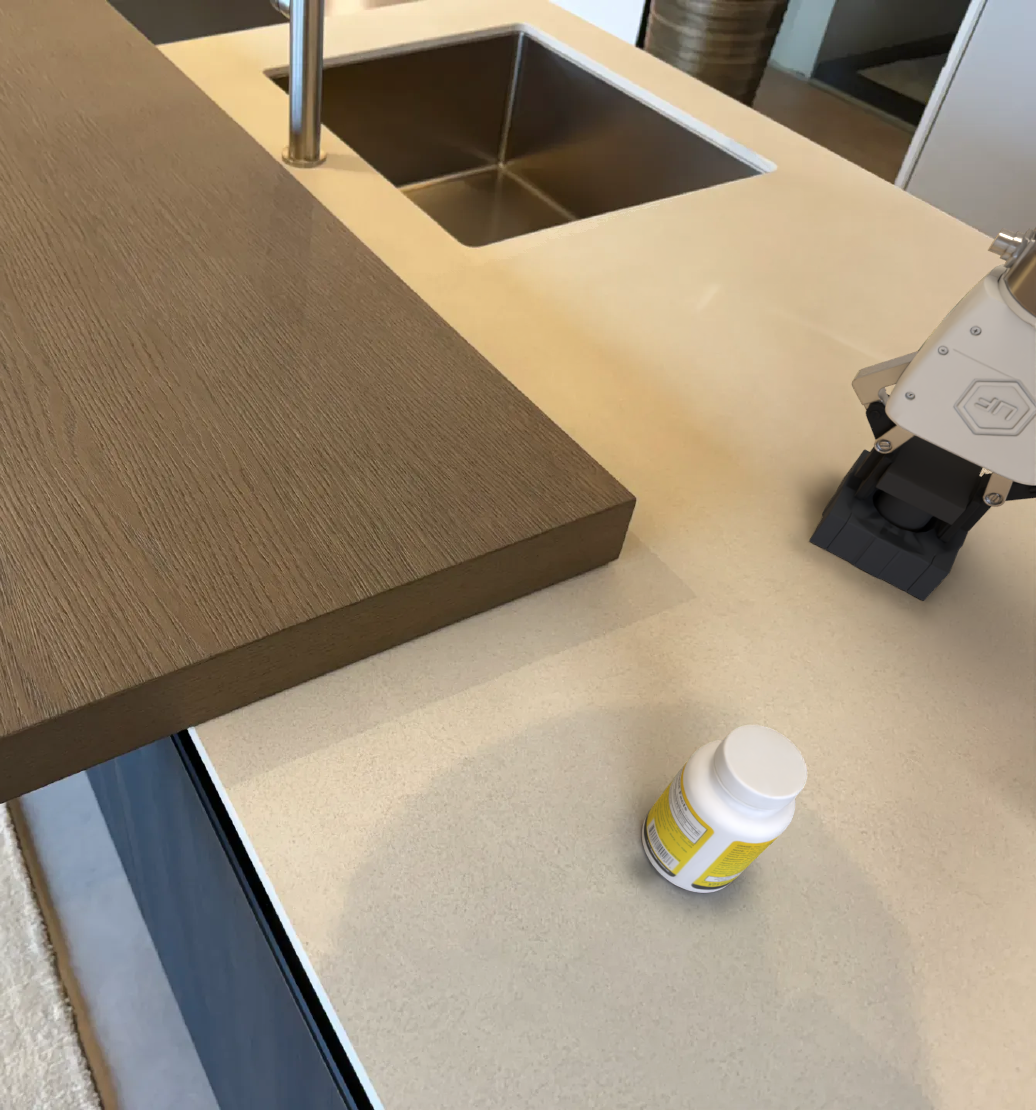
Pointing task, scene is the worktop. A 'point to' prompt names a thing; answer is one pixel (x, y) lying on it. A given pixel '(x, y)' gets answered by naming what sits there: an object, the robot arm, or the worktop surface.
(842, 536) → the base pad
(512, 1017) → the worktop surface
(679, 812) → the supplement bottle
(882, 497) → the top pad
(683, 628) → the worktop surface
